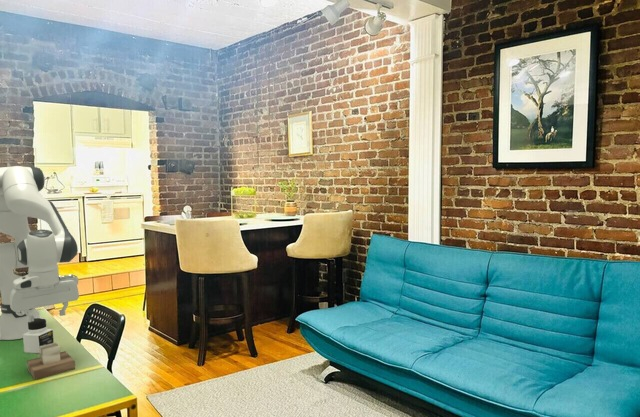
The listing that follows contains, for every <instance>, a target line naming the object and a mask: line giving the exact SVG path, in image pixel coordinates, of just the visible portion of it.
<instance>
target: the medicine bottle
mask: <svg viewBox="0 0 640 417" xmlns="http://www.w3.org/2000/svg"><path fill="white" fill-rule="evenodd" d="M28 331H29V332H27V333H25V334H23V338H22V340H23V352H24V353H25V354H26V353H27V354H28V353H29V354H40V346H43V345H48V344H52V343H55V342H54V330H53V328H48V326H47V319H46V317H40V318H34V321H33V322H28Z"/></svg>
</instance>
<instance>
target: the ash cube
mask: <svg viewBox="0 0 640 417" xmlns="http://www.w3.org/2000/svg"><path fill="white" fill-rule="evenodd" d="M60 352H61V349H60V345H59V344H58V343H57V342H54V343H52V344H48V345H43V346H40V353H39V357H40V358H41V362H42V363H43V364H44V365H45V364H49V363H53V362H57V361H61V360H60Z"/></svg>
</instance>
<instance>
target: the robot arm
mask: <svg viewBox="0 0 640 417" xmlns="http://www.w3.org/2000/svg"><path fill="white" fill-rule="evenodd" d="M45 183H46V177H45V174H44V173H43V170H42V169H41V168H39V167H37V166H20V165H14V166H4V167H3V166H2V167H1V166H0V233H2V234H4V235H7V236H11V237H12V238H13V239H14V241H12V242H11V241H10V242H4V243H0V297H1V303H0V312H1V314H0V340H1V341H12V340H19V339H23V334H25V333H27V332H29V331H28V322H33V321H34V318H41V315H40V314H41V313H40V311H39V310H38V309H37V308H42V307H43V308H45V307H49V306H54V305H59V304H62V308H61V309H59V311H58V312H59V316H60V317H61V316H66V310H67V308H68V306H69V303H70V302H76V301H78V299H79V298H80V292H79V287H78V285H79V278H78V275H75V274H73V273H72V274H71V273H70V274H65V275H60V274H59V273H60V269H59V265H58V263H70V262H71V261H72V260H74V258H76V256H77V254H78V253H79V252H78V249H79V248H78V244H77V241H76V239H75V238H74V236H73V235H72V234H71V233H70V231H69V229H68V227H67V226H66V223H65V221H64V220H63V218H62V216H61V214H60V213H59V211H58V209H57V208H56V206H55V204H54V203H53V202H52V201H51V200H49V199H47V198H45V197H44V196H43V195H42V194H41V193H40V192H41V191H42V190H43V189H44V187H45ZM28 217H29V218H34V219H37V220H42V221H43V222H46V223H47V225H48V226H49V227H50V230H49V229H35V230H31V229H30V228H31V227H30V224H29V220H28ZM22 268H28V271H27V272H28V273H27V274H26V275H23V276H22V275H19V274H15V273H14V270H15V269H22Z"/></svg>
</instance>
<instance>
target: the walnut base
mask: <svg viewBox="0 0 640 417" xmlns="http://www.w3.org/2000/svg"><path fill="white" fill-rule="evenodd" d="M60 360H61V361H57V362H53V363H49V364H45V365H44V364H43V363H42V362H41V358H40V356H39V357H37V358H33V359H28V360H26V367H27V371H28V372H29V374H31V376H32V378H33V379H34V381H37V380H40V379H44V378H47V377H51V376H54V375H59V374H62V373H66V372H69V371H73V370H75V369H76V362H75V359H74V358H73V357H72V356H71V355H70V354H69V353H68V352H67V351H66V350H64V351H60Z"/></svg>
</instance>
